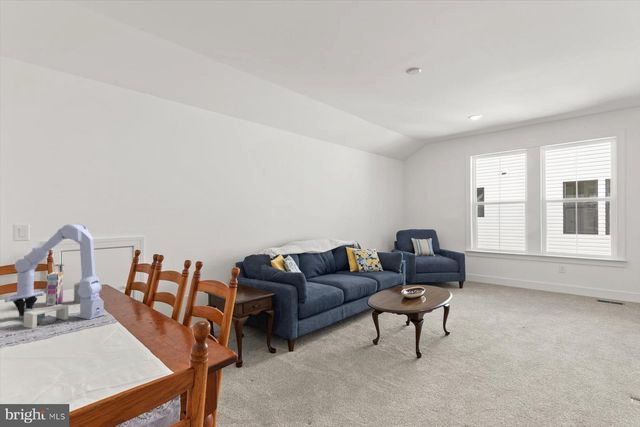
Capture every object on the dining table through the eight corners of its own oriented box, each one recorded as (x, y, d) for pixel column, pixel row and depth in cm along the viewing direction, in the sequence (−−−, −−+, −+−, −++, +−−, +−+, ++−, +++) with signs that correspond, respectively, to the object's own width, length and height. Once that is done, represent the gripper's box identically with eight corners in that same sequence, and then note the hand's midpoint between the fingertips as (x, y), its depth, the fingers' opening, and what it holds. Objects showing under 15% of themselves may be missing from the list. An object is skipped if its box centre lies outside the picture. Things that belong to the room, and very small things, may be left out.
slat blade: (44, 320, 150) (44, 311, 150) (39, 321, 148) (39, 312, 148) (24, 316, 155) (24, 307, 155) (18, 317, 153) (19, 308, 153)
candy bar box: (57, 305, 173) (58, 274, 173) (45, 306, 171) (46, 274, 171) (63, 300, 183) (64, 270, 184) (52, 301, 181) (52, 271, 182)
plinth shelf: (68, 318, 153) (68, 305, 153) (32, 328, 139) (32, 313, 139) (59, 317, 155) (59, 304, 155) (23, 326, 142) (24, 312, 142)
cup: (85, 303, 178) (85, 285, 178) (70, 303, 178) (70, 284, 179) (96, 299, 187) (96, 281, 187) (81, 299, 187) (82, 281, 187)
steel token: (55, 322, 149) (55, 316, 149) (43, 325, 144) (43, 319, 144) (48, 320, 151) (48, 315, 151) (35, 323, 146) (35, 318, 146)
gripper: (38, 281, 162) (37, 309, 162) (0, 287, 148) (0, 317, 148) (47, 282, 159) (46, 311, 159) (10, 288, 146) (9, 319, 146)
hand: (24, 314), depth 153 cm, fingers closed on slat blade, 2 cm apart
